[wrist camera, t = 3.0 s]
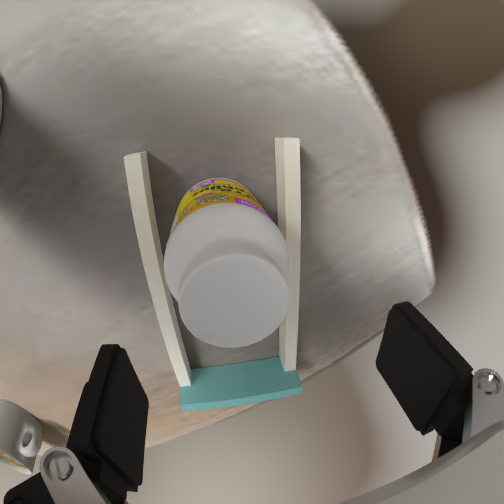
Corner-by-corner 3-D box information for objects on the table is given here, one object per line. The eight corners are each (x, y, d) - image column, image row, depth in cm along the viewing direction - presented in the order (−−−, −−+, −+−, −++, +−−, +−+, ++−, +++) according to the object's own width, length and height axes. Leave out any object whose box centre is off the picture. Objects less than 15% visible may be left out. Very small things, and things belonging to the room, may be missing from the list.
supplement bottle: (267, 186, 23) (337, 249, 11) (245, 259, 25) (285, 367, 14) (185, 167, 21) (167, 213, 10) (169, 245, 23) (149, 354, 12)
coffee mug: (18, 429, 32) (7, 467, 23) (-11, 397, 28) (-28, 437, 19) (66, 437, 33) (57, 483, 24) (35, 404, 29) (19, 454, 20)
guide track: (131, 153, 20) (113, 160, 15) (289, 137, 21) (312, 140, 17) (182, 376, 30) (183, 411, 25) (289, 361, 31) (301, 393, 27)
